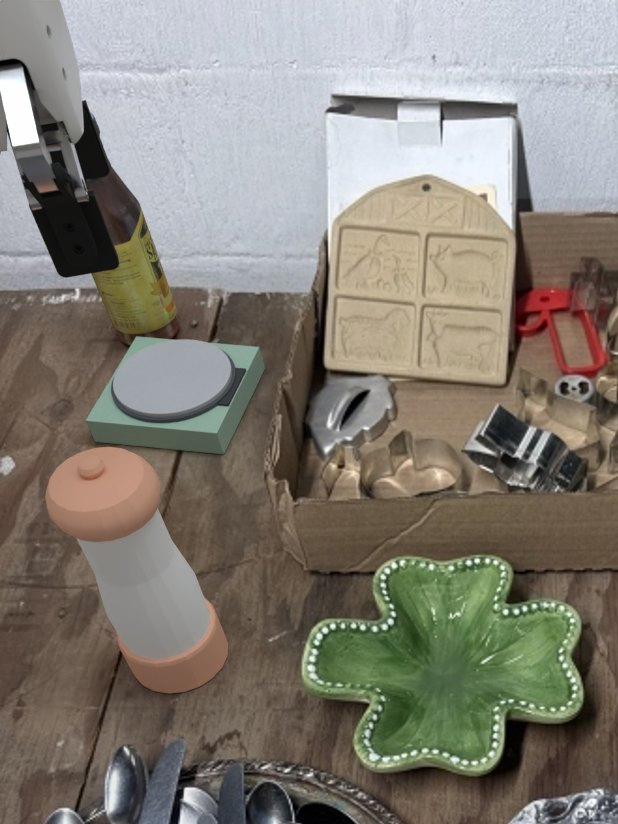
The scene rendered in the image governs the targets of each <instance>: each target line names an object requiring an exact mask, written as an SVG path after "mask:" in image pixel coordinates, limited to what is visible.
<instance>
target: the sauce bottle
mask: <svg viewBox="0 0 618 824" xmlns="http://www.w3.org/2000/svg"><path fill="white" fill-rule="evenodd" d="M90 113H91V116H92V119H93V122H94V125H95V128H96V130H97V133H98V136H99V139H100V142H101V145H102V148H103V150H104V153H105V156H106V159H107V162H108V165H109V174H108V175H107V176H105V177H99V178H93V179H87V180H84V181H85V185H86V188H87V191H93V190H94V193H95V195H96V198H97V201H98V203H99V206H100V209H101V211H102V214H103V217H104V219H105V222H106V225H107V228H108V230H109V233H110V236H111V238H112V241H113V244H114V246H115V249H116V252H117V254H118V258H119V266H118V268H116V269H114V270H108V271H102V272H97V273H91V277H92V279H93V281H94V282H93V283H94V284H95V286H96V290H97V291H98V293H99V296H100V298H101V301H102V303H103V305H104V308H105V310H106V313H107V315H108V318H109V320H110V322H111V325H112V326H113V328H114V329H115V330H116V334H117V335H118V338H119V339H120V341H121V342H122V343H123V344H126V346H129V347H130V346H131V344H132V343H133V341H134V339H135V338H136V336H137V337H149V338H161V339H172V340H173V338H174V337H176V335H177V333H178V332H179V328H180V319H179V316H178V313H177V312H178V309H177V305H176V302H175V299H174V297H173V293H172V290H171V287H170V285H169V282H168V280H167V277H166V273H165V271H164V267H163V265H162V261H161V259H160V257H159V253H158V251H157V248H156V245H155V242H154V240H153V237H152V234H151V230H150V228H149V226H148V223H147V220H146V216H145V214H144V212H143V210H142V209H143V208H142V206H141V204H140V202H139V200H138V199H137V197H136V196H135V194H133V192H132V191H131V190H130V188H129V187H128V186H127V185H126V184H125V182H124V181H123V180H122V178H121V177H120V176H119V174H118V173H117V171H116V170H115V168H113V166H112V164H111V162H110V159H109V157H108V155H107V152H106V150H105V147H104V144H103V141H102V138H101V130H100V126H99V125H98V122H97V119H96V117H95V116H94V114H93V113H92V112H91V111H90Z"/></svg>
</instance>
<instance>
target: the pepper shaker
mask: <svg viewBox="0 0 618 824" xmlns="http://www.w3.org/2000/svg"><path fill="white" fill-rule="evenodd" d="M161 493H162V483H161V480H160V478H159V475H158V472H157V471H156V470H155V469H154V467H153V466H152V465H150V463H149V462H148V461H147V460H145V459H144V457H142V456H140V455H139V454H136V453H134V452H132V451H130V450H127V449H125V448H122V447H121V448H120V447H114V446H102V447H93V448H90V449H87V450H83V451H79V452H78V453H75V454H74V455H72V456H70V457H68V458H67V459H65V460H64V461H63V462H61V464H59V465H58V466H57V467H56V468H55V469H54V471H53V473H52V474H51V476H50V477H49V479H48V483H47V486H46V491H45V496H44V499H45V505H46V506H45V507H46V510H47V512H48V517H49V520H51V521H52V522H53V523H54V524H55V525H56V526H57V527H58V529H60V530H61V531H63V532H64V533H65V534H67V535H68V536H71V537H73V538H75V539H76V540H77V543H78V545H79V547H80V548H81V551H82V552H83V555H84V556H85V559H86V560H87V562H88V564H89V566H90V568H91V570H92V572H93V574H94V577H95V581H96V584H97V587H98V590H99V595H100V598H101V602H102V605H103V608H104V609H103V610H104V612H105V615H106V617H107V619H108V620H109V621H110V623H111V625H112V627H113V629H114V630H115V632H116V641H117V644H118V648H119V651H120V652H121V655H122V656H123V658H124V660H125V661H126V664H127V665H128V667H129V668H130V670H131V672H132V674H133V677H134V678H136V680H137V681H138V682H139V683H140V684H141V685H142V686H143V687H145V688H147V689H149V690H151V691H153V692H157V693H163V694H178V693H179V694H180V693H187V692H188V691H189V692H190V691H191V690H194V689H197V688H200V687H202V686H203V685H204V684H206V683H208V682H209V681H211V680H212V679H213V678H214V677H215V676H216V675H217V674H218V673H219V672H220V671H221V670H222V669H223V667H224V665H225V663H226V660H227V659H228V656H229V642H228V639H227V637H226V634H225V630H224V628H223V626H222V624H221V621H220V619H219V617H218V614H217V612H216V610H215V607H214V605H213V604H212V603H211V602H210V600H208V599H207V597H205V596H204V594H203V591H202V589H201V585H200V583H199V580H198V578H197V575H196V573H195V571H194V570H193V568H192V567H191V565H190V564H189V563H188V561H187V560H186V558H185V557H184V555H183V554H182V552H181V551H180V550H179V548H178V547H177V545H176V544H175V542H174V540H172V537H171V535H170V532H169V531H168V528H167V525H166V524H165V521H164V519H163V516H162V514H161V512H160V510H159V507H160V506H159V505H160V502H161Z"/></svg>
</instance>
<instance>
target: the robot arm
mask: <svg viewBox="0 0 618 824" xmlns="http://www.w3.org/2000/svg"><path fill="white" fill-rule="evenodd" d="M90 112H91V110H90V108H89V105H88V102H87V100H86V99H83V96H82V85H81V77H80V68H79V64H78V59H77V55H76V52H75V48H74V44H73V39H72V36H71V33H70V29H69V26H68V22H67V19H66V15H65V12H64V9H63V6H62V2H61V0H0V154H1V152H7V151H8V140H9V143H10V144H9V145H10V147H11V150H12V153H13V156H14V160H15V163H16V166H17V170H18V174H19V177H20V179H21V183H22V186H23V190H24V192H25V196H26V199H27V202H28V208H29V210H30V212H31V214H32V217H33V219H34V222H35V224H36V226H37V229H38V231H39V233H40V236H41V238H42V241H43V242H44V245H45V248H46V250H47V252H48V254H49V257H50V259H51V261H52V264H53V266H54V268H55V271H56V273H57V275H59V276H60V277H62V278H73V277H79V276H86V275H89V274H91V273H97V272H102V271H108V270H114V269H116V268H118V266H119V258H118V254H117V252H116V249H115V246H114V244H113V241H112V238H111V236H110V233H109V230H108V228H107V225H106V222H105V219H104V217H103V214H102V211H101V209H100V206H99V203H98V201H97V198H96V195H95V193H94V190H93V191H87V188H86V185H85V181H84V180H87V179H93V178H99V177H105V176H107V175H108V174H109V165H108V162H107V159H106V156H105V153H104V150H105V149H104V150H103V148H102V145H101V142H100V139H101V138H100V139H99V136H98V133H97V130H96V128H95V125H94V122H93V119H92V116H91V113H92V112H91V113H90ZM91 275H92V274H91Z"/></svg>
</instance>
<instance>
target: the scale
mask: <svg viewBox="0 0 618 824" xmlns="http://www.w3.org/2000/svg"><path fill="white" fill-rule="evenodd" d="M265 370H266V367H265V363H264V360H263V355H262V351H261V349H260V346H252V345H242V344H229V343H218V342H206V341H202V340H199V339H186V338H184V339H180V338H179V339H173V338H172V339H161V338H149V337H137V336H136V338H135V339H134V341H133V343H132V344H131V346H129V347H128V349H127V351H126V352H125V354H124V356H123V358H122V359H121V361H120V362H119V364H118V366H117V367H116V368H115V371H114V372H113V374H112V376H111V378H110V379H109V381H108V382H107V384H106V386H105V387H104V389H103V391H102V392H101V394H100V396H99V397H98V399H97V401H96V402H95V404H94V406H93V407H92V409H91V410H90V412H89V414H88V415H87V417H86V419H85V423H86V425H87V427H88V429H89V431H90V434H91V435H92V438H93V440H94V442H95V443H102V444H114V445H122V446H123V445H125V446H134V447H143V448H153V449H164V450H165V449H166V450H173V451H174V450H176V451H184V452H196V453H205V454H216V455H225V454H226V451H227V449H228V447H229V445H230V443H231V441H232V439H233V437H234V435H235V432H236V430H237V428H238V426H239V424H240V422H241V420H242V418H243V416H244V414H245V412H246V410H247V408H248V405H249V404H250V401H251V399H252V397H253V395H254V393H255V391H256V389H257V387H258V385H259V382H260V380H261V378H262V376H263V374H264V372H265Z"/></svg>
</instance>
